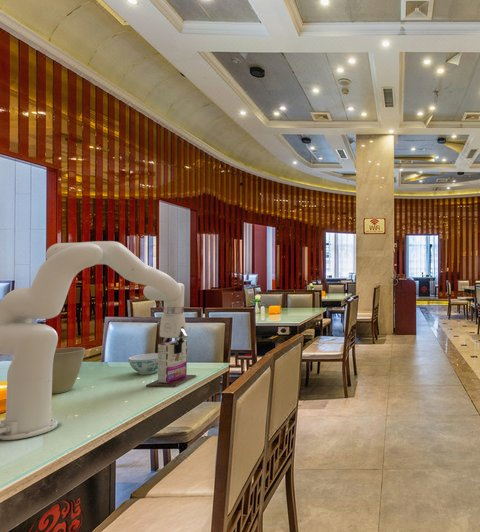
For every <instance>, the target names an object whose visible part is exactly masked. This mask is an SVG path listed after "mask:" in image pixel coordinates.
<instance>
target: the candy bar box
mask: <svg viewBox="0 0 480 532" xmlns="http://www.w3.org/2000/svg"><path fill="white" fill-rule="evenodd" d="M175 344H176V342H175V340H171V341H170V342H166V343H163V342H162V343H158V344H157V353H158V369H157V380H158V382H159V383H169V382H172V381H175V380H178V379H180V378H183V377H186V376H187V375H188V374H187V367H188V366H187V362H188V361H187V359H188V340H187V339H185V340H184V341H183V344H182V352H181V353H178V354H175V353H174V345H175Z"/></svg>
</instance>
